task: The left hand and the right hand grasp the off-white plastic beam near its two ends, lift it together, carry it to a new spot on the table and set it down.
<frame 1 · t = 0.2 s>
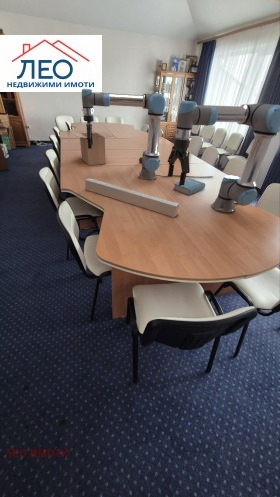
left hand: (90, 146, 173), 28 cm above the table, tool pointing down, fingers open, 13 cm apart
right hand: (175, 180, 122), 27 cm above the table, tool pointing down, fingers open, 13 cm apart
beam: (127, 201, 161), on the table
box: (93, 161, 237), on the table
book: (188, 189, 187), on the table
laser sight: (148, 164, 240), on the table
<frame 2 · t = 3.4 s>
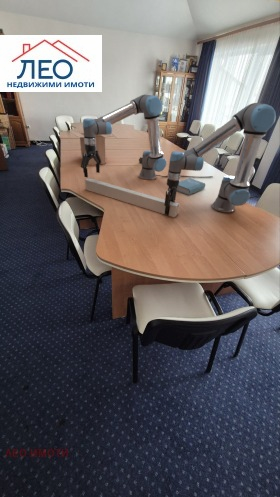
left hand: (92, 174, 166), 12 cm above the table, tool pointing down, fingers open, 13 cm apart
right hand: (168, 212, 149), 1 cm above the table, tool pointing down, fingers closed on beam, 5 cm apart
beam: (127, 201, 161), on the table, touching right hand
everything else where it was.
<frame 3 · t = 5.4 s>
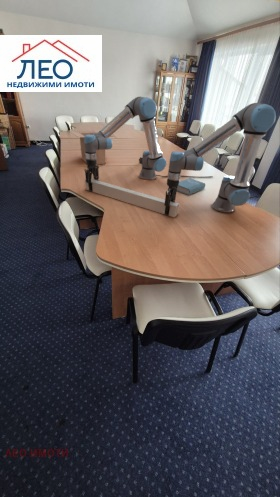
left hand: (93, 189, 173), 1 cm above the table, tool pointing down, fingers closed on beam, 5 cm apart
right hand: (168, 212, 149), 1 cm above the table, tool pointing down, fingers closed on beam, 5 cm apart
beam: (127, 201, 161), on the table, touching left hand, right hand
everything else where it was.
when the left hand's fingers open (2 cm above the table, at t = 11.0 s): beam drops 2 cm, on the table.
when the right hand's fingers open (2 cm above the table, at t = 11.1 s): beam drops 1 cm, on the table.
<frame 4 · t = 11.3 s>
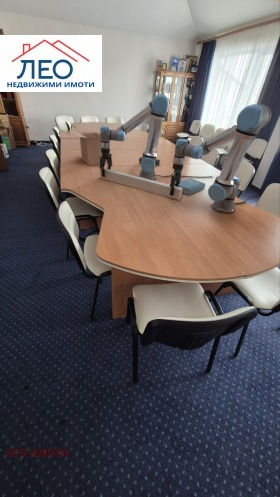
left hand: (106, 175, 195), 3 cm above the table, tool pointing down, fingers open, 8 cm apart
right hand: (173, 193, 171), 3 cm above the table, tool pointing down, fingers open, 8 cm apart
beam: (137, 187, 184), on the table
everything else where it was.
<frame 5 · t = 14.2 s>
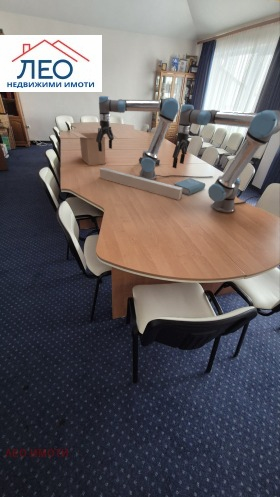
left hand: (105, 149, 182), 24 cm above the table, tool pointing down, fingers open, 13 cm apart
right hand: (178, 165, 158), 24 cm above the table, tool pointing down, fingers open, 13 cm apart
nothing on the table moved.
at the end: beam inside the target area (0.2 cm from its centre), on the table; beam tilted 0°; beam never tilted more than 1° during the clip; both hands held the beam at the same time; the left hand is holding nothing; the right hand is holding nothing; beam at rest at the end (0.0 cm/s) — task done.
